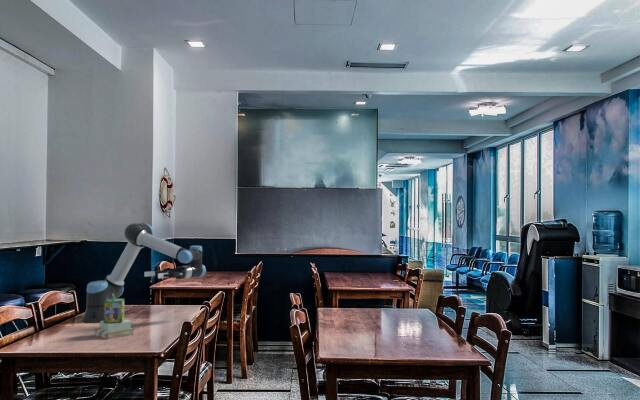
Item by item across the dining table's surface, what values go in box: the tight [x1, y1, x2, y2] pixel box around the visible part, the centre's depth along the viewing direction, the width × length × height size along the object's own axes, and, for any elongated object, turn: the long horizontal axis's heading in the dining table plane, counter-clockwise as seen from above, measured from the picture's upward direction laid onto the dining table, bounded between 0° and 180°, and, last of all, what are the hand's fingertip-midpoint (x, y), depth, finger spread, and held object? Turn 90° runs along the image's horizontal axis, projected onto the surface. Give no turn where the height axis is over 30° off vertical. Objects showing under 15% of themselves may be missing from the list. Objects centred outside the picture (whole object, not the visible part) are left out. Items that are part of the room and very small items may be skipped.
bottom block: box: [94, 327, 134, 340], centre depth 282 cm, size 14×14×4 cm
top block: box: [99, 318, 132, 332], centre depth 282 cm, size 12×12×4 cm
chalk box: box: [104, 293, 125, 323], centre depth 282 cm, size 9×9×15 cm
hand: (151, 275), depth 301 cm, fingers open, 13 cm apart
